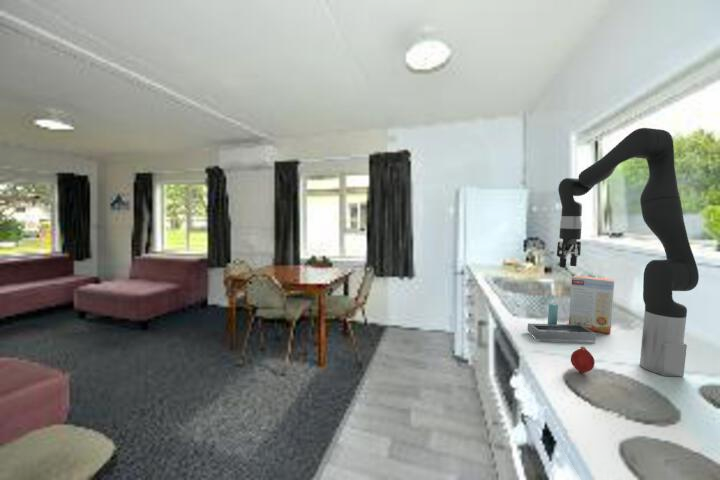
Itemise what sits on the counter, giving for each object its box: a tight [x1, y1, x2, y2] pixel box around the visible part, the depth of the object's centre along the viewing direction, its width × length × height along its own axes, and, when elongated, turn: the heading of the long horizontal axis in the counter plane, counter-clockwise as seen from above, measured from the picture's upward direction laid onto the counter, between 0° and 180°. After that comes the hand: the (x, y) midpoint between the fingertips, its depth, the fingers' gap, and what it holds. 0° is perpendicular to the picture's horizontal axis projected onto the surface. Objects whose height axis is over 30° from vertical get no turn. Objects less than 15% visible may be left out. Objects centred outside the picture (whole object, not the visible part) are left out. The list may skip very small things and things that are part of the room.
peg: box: [547, 303, 559, 324], centre depth 136 cm, size 6×6×10 cm
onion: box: [570, 346, 595, 374], centre depth 98 cm, size 6×6×8 cm
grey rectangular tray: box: [527, 323, 597, 344], centre depth 127 cm, size 9×20×4 cm, turn 88°
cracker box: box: [568, 275, 615, 335], centre depth 137 cm, size 14×6×21 cm, turn 52°
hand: (568, 266), depth 140 cm, fingers open, 8 cm apart
